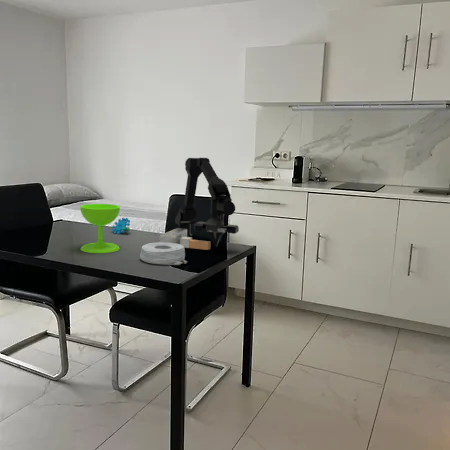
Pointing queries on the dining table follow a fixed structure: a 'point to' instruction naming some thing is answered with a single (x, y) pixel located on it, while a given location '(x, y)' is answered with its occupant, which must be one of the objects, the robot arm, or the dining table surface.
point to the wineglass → (100, 225)
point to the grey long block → (173, 236)
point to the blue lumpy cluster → (121, 226)
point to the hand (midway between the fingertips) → (215, 246)
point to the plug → (194, 243)
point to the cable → (163, 253)
